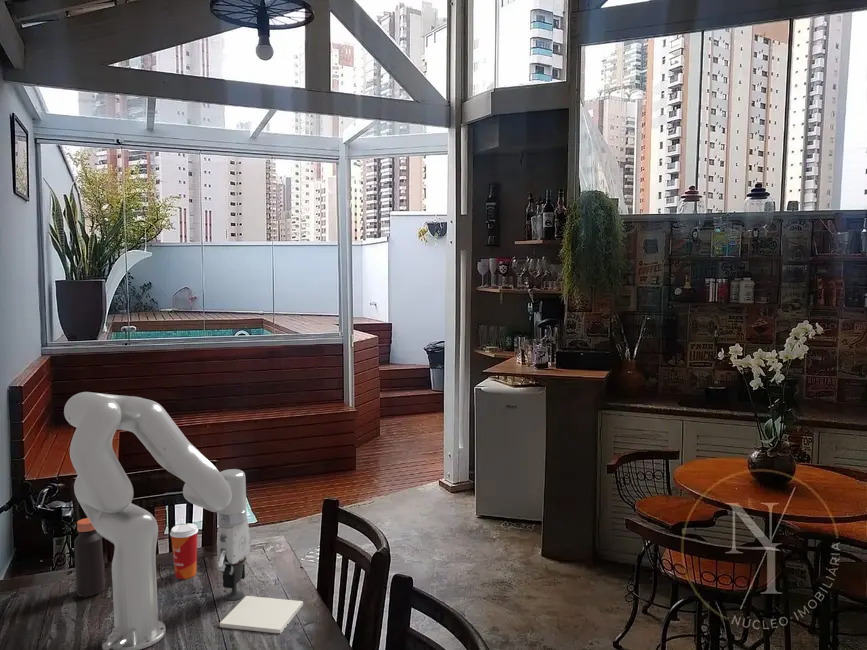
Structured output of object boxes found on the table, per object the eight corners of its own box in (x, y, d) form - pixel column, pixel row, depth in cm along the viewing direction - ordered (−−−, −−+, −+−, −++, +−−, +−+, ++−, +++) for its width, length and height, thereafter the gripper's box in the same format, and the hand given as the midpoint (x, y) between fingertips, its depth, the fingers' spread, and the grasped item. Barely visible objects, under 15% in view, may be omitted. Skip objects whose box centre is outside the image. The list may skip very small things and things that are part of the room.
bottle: (103, 595, 180) (99, 523, 178) (75, 599, 177) (71, 527, 176) (105, 584, 186) (102, 514, 184) (78, 588, 184) (74, 518, 182)
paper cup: (170, 572, 193) (168, 525, 192) (198, 567, 196) (196, 521, 195) (172, 583, 186) (170, 535, 185) (201, 578, 189) (199, 530, 188)
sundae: (251, 590, 182) (249, 537, 180) (241, 602, 175) (239, 547, 174) (227, 589, 182) (226, 536, 181) (217, 601, 176) (215, 547, 174)
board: (280, 633, 160) (280, 629, 160) (219, 627, 163) (219, 623, 163) (303, 604, 174) (303, 601, 174) (246, 599, 177) (246, 595, 177)
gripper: (229, 530, 168) (231, 599, 169) (259, 506, 184) (261, 570, 186) (202, 527, 169) (204, 596, 171) (234, 504, 186) (236, 567, 187)
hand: (234, 582), depth 178 cm, fingers closed on sundae, 4 cm apart
